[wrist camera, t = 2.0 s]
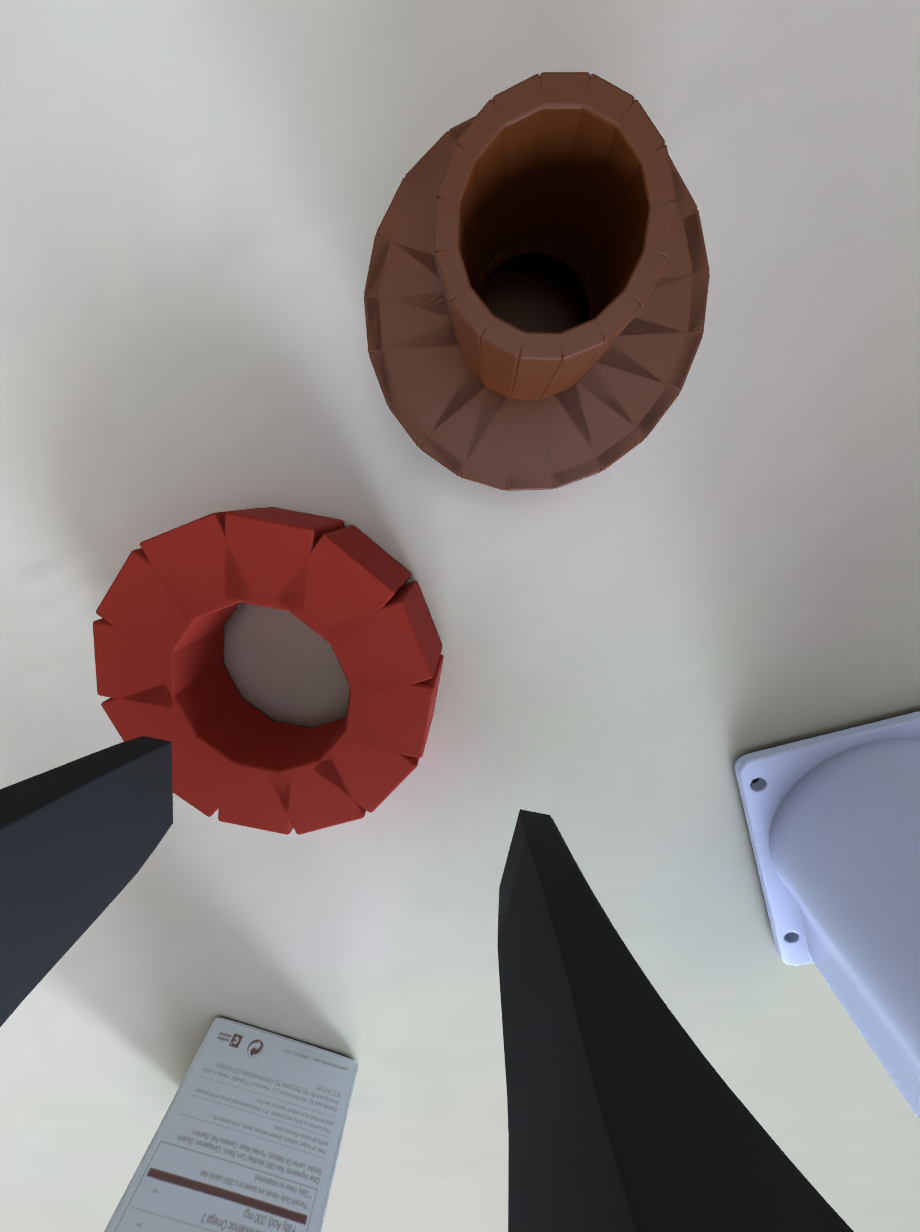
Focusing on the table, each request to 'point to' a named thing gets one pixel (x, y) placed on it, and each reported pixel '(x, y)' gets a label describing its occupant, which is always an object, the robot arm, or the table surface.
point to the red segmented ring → (208, 699)
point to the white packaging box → (244, 1139)
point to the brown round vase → (538, 286)
